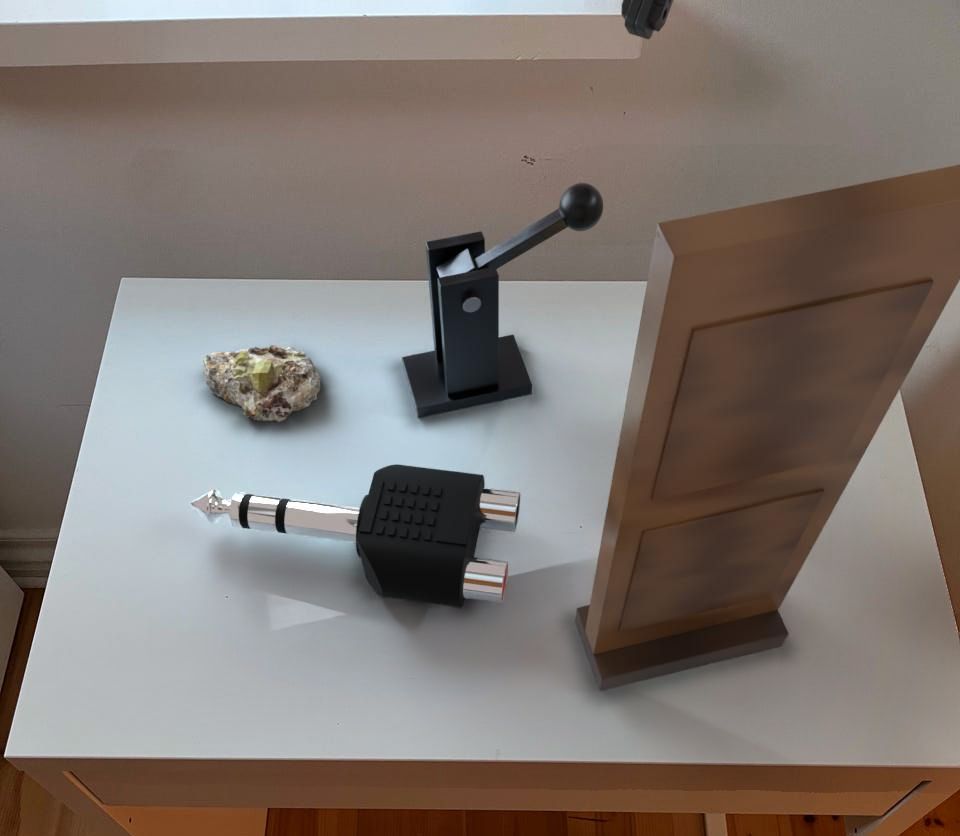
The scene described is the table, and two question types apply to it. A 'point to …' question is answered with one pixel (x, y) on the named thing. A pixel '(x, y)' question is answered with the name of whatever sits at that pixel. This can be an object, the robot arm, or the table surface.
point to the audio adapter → (397, 530)
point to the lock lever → (535, 231)
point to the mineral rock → (263, 380)
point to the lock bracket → (464, 338)
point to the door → (757, 409)
